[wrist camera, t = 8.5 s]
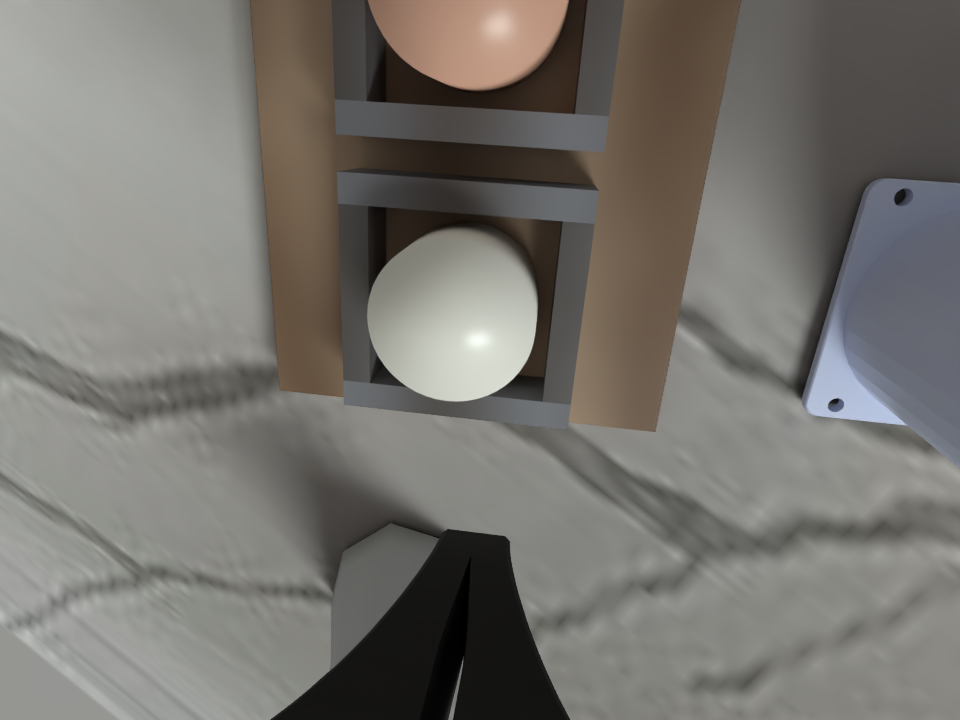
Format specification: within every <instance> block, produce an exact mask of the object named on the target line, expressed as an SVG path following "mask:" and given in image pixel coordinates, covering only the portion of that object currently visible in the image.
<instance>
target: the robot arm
mask: <svg viewBox="0 0 960 720" xmlns="http://www.w3.org/2000/svg"><path fill="white" fill-rule="evenodd" d="M901 189H904V190H905V192H906V197H905V199H904V200H903V201H902V202H901V203H899V204H897V205H896V204H895V202H894V196H895V194H896V193H897V192H898V191H899V190H901ZM836 398H839V402H838V403H837V405H835V406H833V407H828V403H829V402H830V401H831V400H833V399H836ZM802 405H803V407H804V408H805V409H806V410H807V411H808V412H809V413H810V414H812V415H815V416H823V417H833V418H842V419H851V420H861V421H870V422H880V423H889V424H899V425H908V426H909V427H910V428H911V429H913V430H914V431H915V432H916V433H917V434H919V435H920V436H921V437H922V438H924V439H925V440H926V441H927V442H928V443H930V444H931V445H932V446H933V447H934V448H936V449H937V450H938V451H939V452H940V453H942V454H943V455H944V456H945V457H947V458H948V459H949V460H950V461H951V462H953V463H954V464H955V465H956V466H957V467H959V468H960V183H950V182H936V181H921V180H906V179H892V178H882V179H877V180H875V181H873V182H871V183H870V184H869V185H868V186H867V187H866V189H865V191H864V193H863V196H862V199H861V202H860V206H859V209H858V212H857V216H856V219H855V222H854V226H853V229H852V232H851V236H850V239H849V242H848V246H847V249H846V252H845V256H844V259H843V262H842V266H841V269H840V273H839V276H838V279H837V283H836V286H835V289H834V293H833V296H832V299H831V303H830V306H829V309H828V313H827V316H826V319H825V323H824V326H823V329H822V333H821V336H820V339H819V343H818V346H817V349H816V353H815V356H814V359H813V363H812V366H811V369H810V373H809V376H808V379H807V383H806V386H805V390H804V393H803V396H802ZM463 656H464V658H463ZM462 660H463V668H462V674H461V679H460V685H459V690H458V696H457V701H456V707H455V712H454V718H453V720H570V718H569V717H568V715H567V713H566V711H565V709H564V707H563V705H562V703H561V701H560V699H559V697H558V695H557V693H556V691H555V689H554V687H553V684H552V682H551V680H550V678H549V676H548V674H547V671H546V669H545V667H544V664H543V662H542V660H541V657H540V655H539V652H538V650H537V647H536V644H535V642H534V639H533V637H532V634H531V631H530V628H529V626H528V623H527V620H526V617H525V613H524V610H523V607H522V604H521V600H520V597H519V594H518V590H517V586H516V582H515V578H514V573H513V568H512V563H511V556H510V541H509V540H508V539H507V538H506V537H505V536H499V535H491V534H483V533H475V532H467V531H459V530H451V529H447V530H446V531H444V532H443V533H442V534H441V536H440V538H439V540H438V542H437V544H436V545H435V547H434V549H433V550H432V552H431V554H430V555H429V557H428V558H427V560H426V561H425V563H424V564H423V566H422V567H421V569H420V570H419V571H418V573H417V574H416V576H415V577H414V578H413V579H412V581H411V582H410V583H409V585H408V586H407V587H406V589H405V590H404V591H403V593H402V594H401V595H400V597H399V598H398V599H397V600H396V602H395V603H394V604H393V605H392V606H391V607H390V609H389V610H388V611H387V612H386V613H385V614H384V616H383V617H382V618H381V619H380V620H379V621H378V623H377V624H376V625H375V626H374V627H373V628H372V629H371V630H370V632H369V633H368V634H367V635H366V636H365V637H364V638H363V639H362V640H361V641H360V642H359V643H358V644H357V645H356V646H355V647H354V648H353V649H352V650H351V651H350V652H349V653H348V654H347V655H346V656H345V657H344V658H343V659H342V660H341V661H340V662H339V663H338V664H337V665H336V666H335V667H334V668H332V669H331V670H330V671H329V672H328V673H327V674H326V675H325V676H323V677H322V678H321V679H320V680H319V681H318V682H317V683H316V684H314V685H313V686H312V687H311V688H310V689H309V690H308V691H306V692H305V693H304V694H303V695H302V696H300V697H299V698H298V699H297V700H295V701H294V702H293V703H292V704H291V705H289V706H288V707H287V708H285V709H284V710H283V711H281V712H280V713H279V714H277V715H276V716H275V717H273V718H272V719H271V720H448V718H449V714H450V709H451V705H452V701H453V697H454V693H455V689H456V685H457V681H458V677H459V673H460V669H461V665H462Z"/></svg>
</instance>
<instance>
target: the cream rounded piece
mask: <svg viewBox="0 0 960 720" xmlns="http://www.w3.org/2000/svg"><path fill="white" fill-rule="evenodd" d="M538 303H539V287H538V281H537V276H536V273H535V270H534V268H533V265H532V263H531V261H530V259H529V258H528V256H527V254H526V253H525V252H524V250H523V249H522V248H521V247H520V246H519V245H518V244H517V243H516V242H515V241H514V240H513V239H512V238H511V237H509V236H508V235H507V234H505V233H503V232H502V231H500V230H498V229H496V228H494V227H491V226H489V225H485V224H482V223H476V222H453V223H448V224H444V225H441V226H439V227H436V228H434V229H432V230H430V231H429V232H427V233H425V234H424V235H422V236H421V237H420V238H418V239H417V240H416V241H414V242H413V243H412V244H410V245H409V246H408V247H406V248H405V249H404V250H402V251H401V252H400V253H398V254H397V255H396V256H395V257H393V258H392V259H391V260H390V261H389V262H388V263H387V264H386V265H385V267H384V268H383V269H382V271H381V272H380V273H379V275H378V277H377V279H376V281H375V282H374V284H373V287H372V290H371V293H370V296H369V301H368V309H367V321H368V329H369V334H370V338H371V341H372V344H373V346H374V349H375V351H376V353H377V355H378V357H379V358H380V360H381V361H382V363H383V364H384V366H385V367H386V368H387V369H388V370H389V372H390V373H391V374H392V375H393V376H394V377H396V378H397V379H398V380H399V381H400V382H401V383H403V384H404V385H405V386H407V387H408V388H410V389H412V390H414V391H415V392H417V393H420V394H422V395H425V396H427V397H431V398H434V399H438V400H444V401H457V402H458V401H469V400H474V399H479V398H482V397H485V396H488V395H490V394H492V393H494V392H496V391H498V390H499V389H501V388H502V387H504V386H506V385H507V384H508V383H509V382H510V381H511V380H512V379H514V377H515V376H516V375H517V374H518V373H519V372H520V371H521V369H522V368H523V366H524V365H525V363H526V361H527V359H528V357H529V355H530V353H531V350H532V346H533V343H534V338H535V332H536V322H537V313H538Z"/></svg>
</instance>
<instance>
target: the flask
mask: <svg viewBox="0 0 960 720" xmlns="http://www.w3.org/2000/svg"><path fill="white" fill-rule="evenodd" d="M438 540H439V538H436V537H433V536H430V535H426V534H423V533H420V532H417V531H414V530H411V529H407V528H404V527H401V526H398V525H395V524H391V523H390V524H389V525H387V526H385V527H383V528H382V529H380V530H378V531H377V532H375V533H373V534H372V535H370V536H368V537H367V538H365V539H363V540H362V541H360V542H358V543H357V544H355V545H353V546H351V547H350V548H348V549H346V550H345V551H343V554H342V558H341V562H340V567H339V571H338V575H337V579H336V583H335V588H334V592H333V596H332V610H331V667H330V670H331V669H332V668H334V667H335V666H336V665H337V664H338V663H339V662H340V661H341V660H342V659H343V658H344V657H345V656H346V655H347V654H348V653H349V652H350V651H351V650H352V649H353V648H354V647H355V646H356V645H357V644H358V643H359V642H360V641H361V640H362V639H363V638H364V637H365V636H366V635H367V634H368V633H369V632H370V630H371V629H372V628H373V627H374V626H375V625H376V624H377V623H378V621H379V620H380V619H381V618H382V617H383V616H384V614H385V613H386V612H387V611H388V610H389V609H390V607H391V606H392V605H393V604H394V603H395V602H396V600H397V599H398V598H399V597H400V595H401V594H402V593H403V591H404V590H405V589H406V587H407V586H408V585H409V583H410V582H411V581H412V579H413V578H414V577H415V576H416V574H417V573H418V571H419V570H420V569H421V567H422V566H423V564H424V563H425V561H426V560H427V558H428V557H429V555H430V554H431V552H432V550H433V549H434V547H435V545H436V544H437V542H438Z"/></svg>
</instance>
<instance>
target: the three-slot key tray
mask: <svg viewBox="0 0 960 720" xmlns="http://www.w3.org/2000/svg"><path fill="white" fill-rule="evenodd" d="M740 2H741V0H569V7H568V13H567V18H566V21H565V25H564V28H563V31H562V33H561V36H560V38H559V41H558V42H557V44H556V46H555V48H554V50H553V51H552V53H551V54H550V56H549V57H548V58H547V60H546V61H545V62H544V63H543V64H542V66H541V67H540V68H539V69H538V70H537V71H536V72H534V73H533V74H532V75H531V76H530V77H529V78H527V79H525V80H524V81H522V82H521V83H519V84H517V85H515V86H513V87H511V88H508V89H505V90H502V91H499V92H493V93H471V92H465V91H462V90H458V89H455V88H453V87H451V86H449V85H446V84H444V83H442V82H440V81H438V80H436V79H433V78H431V77H429V76H427V75H425V74H423V73H421V72H420V71H418V70H416V69H415V68H413V67H412V66H410V65H409V64H408V63H407V62H406V61H404V60H403V59H402V58H401V57H400V56H399V55H398V54H397V53H396V52H395V51H394V50H393V48H392V47H391V46H390V44H389V43H388V42H387V40H386V39H385V38H384V36H383V34H382V33H381V31H380V29H379V27H378V25H377V24H376V21H375V19H374V17H373V14H372V12H371V9H370V6H369V3H368V0H250V8H251V21H252V34H253V47H254V61H255V74H256V87H257V100H258V113H259V126H260V139H261V152H262V165H263V178H264V191H265V204H266V217H267V230H268V243H269V256H270V269H271V282H272V295H273V308H274V321H275V334H276V347H277V360H278V373H279V386H280V390H283V391H292V392H301V393H310V394H319V395H328V396H337V397H344V405H351V406H360V407H369V408H378V409H387V410H396V411H405V412H414V413H423V414H432V415H440V416H449V417H458V418H467V419H476V420H485V421H494V422H503V423H512V424H521V425H530V426H538V427H547V428H556V429H565V430H567V429H568V422H571V423H580V424H589V425H598V426H607V427H616V428H625V429H634V430H643V431H652V432H655V431H656V426H657V421H658V416H659V411H660V406H661V401H662V396H663V391H664V386H665V381H666V376H667V371H668V366H669V361H670V355H671V350H672V345H673V340H674V335H675V330H676V325H677V320H678V315H679V310H680V305H681V300H682V295H683V290H684V285H685V280H686V275H687V270H688V265H689V260H690V255H691V250H692V245H693V240H694V234H695V229H696V224H697V219H698V214H699V209H700V204H701V199H702V194H703V189H704V184H705V179H706V174H707V169H708V164H709V159H710V154H711V149H712V144H713V139H714V134H715V129H716V124H717V118H718V113H719V108H720V103H721V98H722V93H723V88H724V83H725V78H726V73H727V68H728V63H729V58H730V53H731V48H732V43H733V38H734V33H735V28H736V23H737V18H738V13H739V8H740ZM453 222H476V223H482V224H485V225H489V226H491V227H494V228H496V229H498V230H500V231H502V232H503V233H505V234H507V235H508V236H509V237H511V238H512V239H513V240H514V241H515V242H516V243H517V244H518V245H519V246H520V247H521V248H522V249H523V250H524V252H525V253H526V254H527V256H528V258H529V259H530V261H531V263H532V265H533V268H534V270H535V273H536V276H537V281H538V287H539V303H538V313H537V322H536V332H535V338H534V343H533V346H532V350H531V353H530V355H529V357H528V359H527V361H526V363H525V365H524V366H523V368H522V369H521V371H520V372H519V373H518V374H517V375H516V376H515V377H514V379H512V380H511V381H510V382H509V383H508V384H507V385H506V386H504V387H502V388H501V389H499V390H498V391H496V392H494V393H492V394H490V395H488V396H485V397H482V398H479V399H474V400H469V401H458V402H457V401H444V400H438V399H434V398H431V397H427V396H425V395H422V394H420V393H417V392H415V391H414V390H412V389H410V388H408V387H407V386H405V385H404V384H403V383H401V382H400V381H399V380H398V379H397V378H396V377H394V376H393V375H392V374H391V373H390V372H389V370H388V369H387V368H386V367H385V366H384V364H383V363H382V361H381V360H380V358H379V357H378V355H377V353H376V351H375V349H374V346H373V344H372V341H371V338H370V334H369V329H368V321H367V309H368V301H369V296H370V293H371V290H372V287H373V284H374V282H375V281H376V279H377V277H378V275H379V273H380V272H381V271H382V269H383V268H384V267H385V265H386V264H387V263H388V262H389V261H390V260H391V259H392V258H393V257H395V256H396V255H397V254H398V253H400V252H401V251H402V250H404V249H405V248H406V247H408V246H409V245H410V244H412V243H413V242H414V241H416V240H417V239H418V238H420V237H421V236H422V235H424V234H425V233H427V232H429V231H430V230H432V229H434V228H436V227H439V226H441V225H444V224H448V223H453Z"/></svg>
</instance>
